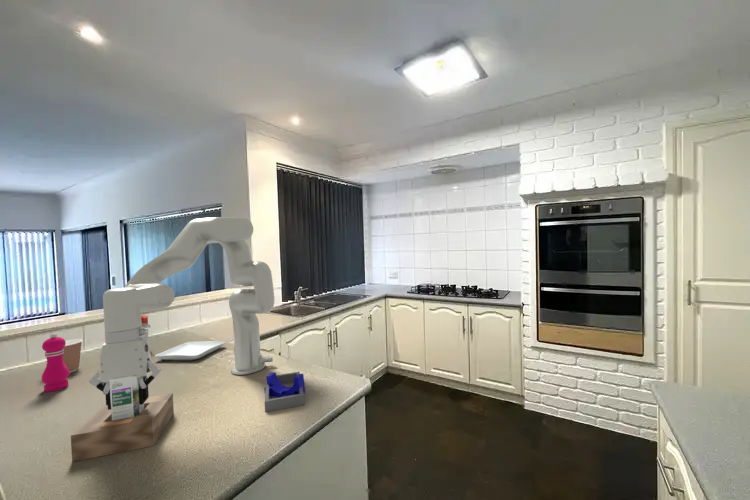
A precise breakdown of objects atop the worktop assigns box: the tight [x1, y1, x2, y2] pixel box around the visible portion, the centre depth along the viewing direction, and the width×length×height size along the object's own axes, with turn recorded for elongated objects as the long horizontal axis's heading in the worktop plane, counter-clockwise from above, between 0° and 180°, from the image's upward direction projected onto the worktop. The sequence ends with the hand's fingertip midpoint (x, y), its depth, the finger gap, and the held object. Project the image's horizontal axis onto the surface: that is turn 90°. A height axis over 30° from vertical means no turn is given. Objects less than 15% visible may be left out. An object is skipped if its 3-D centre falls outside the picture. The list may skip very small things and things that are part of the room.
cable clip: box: [263, 371, 306, 398], centre depth 102 cm, size 12×4×6 cm, turn 71°
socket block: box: [70, 392, 175, 462], centre depth 83 cm, size 16×16×6 cm
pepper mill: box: [41, 332, 71, 392], centre depth 116 cm, size 7×7×20 cm
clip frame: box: [264, 371, 305, 413], centre depth 102 cm, size 11×19×3 cm, turn 17°
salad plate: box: [154, 340, 226, 361], centre depth 148 cm, size 21×21×3 cm
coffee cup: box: [63, 338, 83, 374], centre depth 133 cm, size 10×10×12 cm
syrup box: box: [110, 376, 144, 421], centre depth 83 cm, size 6×6×14 cm
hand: (128, 403), depth 83 cm, fingers closed on syrup box, 6 cm apart
